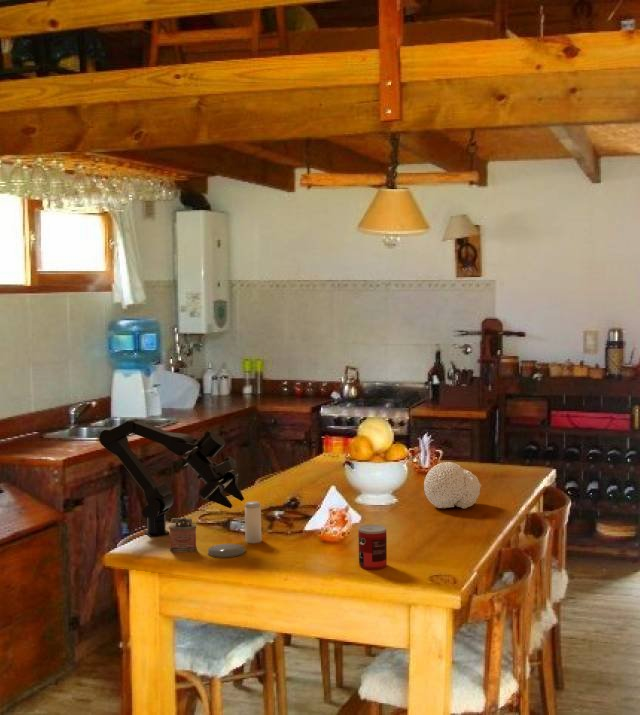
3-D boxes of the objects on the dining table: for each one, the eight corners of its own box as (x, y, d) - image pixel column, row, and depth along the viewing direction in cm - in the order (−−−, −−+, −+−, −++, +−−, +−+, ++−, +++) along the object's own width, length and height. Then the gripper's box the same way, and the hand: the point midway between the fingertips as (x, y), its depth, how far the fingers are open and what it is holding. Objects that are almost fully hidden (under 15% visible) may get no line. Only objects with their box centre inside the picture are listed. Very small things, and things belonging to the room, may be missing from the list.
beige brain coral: (438, 492, 326) (444, 449, 335) (410, 506, 340) (416, 465, 348) (487, 512, 332) (491, 469, 341) (457, 526, 346) (462, 484, 355)
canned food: (362, 560, 281) (362, 523, 280) (389, 562, 279) (389, 525, 278) (355, 568, 274) (355, 530, 273) (383, 571, 272) (383, 532, 271)
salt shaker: (242, 540, 304) (241, 502, 303) (256, 537, 306) (256, 500, 305) (249, 544, 299) (249, 506, 298) (264, 541, 302) (263, 503, 301)
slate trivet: (202, 550, 294) (202, 547, 293) (235, 544, 299) (235, 541, 299) (217, 560, 284) (217, 556, 284) (251, 553, 290) (251, 550, 290)
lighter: (197, 548, 296) (196, 515, 295) (196, 551, 293) (195, 518, 292) (170, 548, 296) (169, 516, 295) (169, 552, 293) (168, 519, 292)
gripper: (207, 455, 294) (242, 493, 292) (231, 444, 312) (264, 480, 310) (184, 480, 298) (219, 517, 295) (210, 467, 315) (242, 503, 313)
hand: (237, 503), depth 303 cm, fingers open, 9 cm apart
